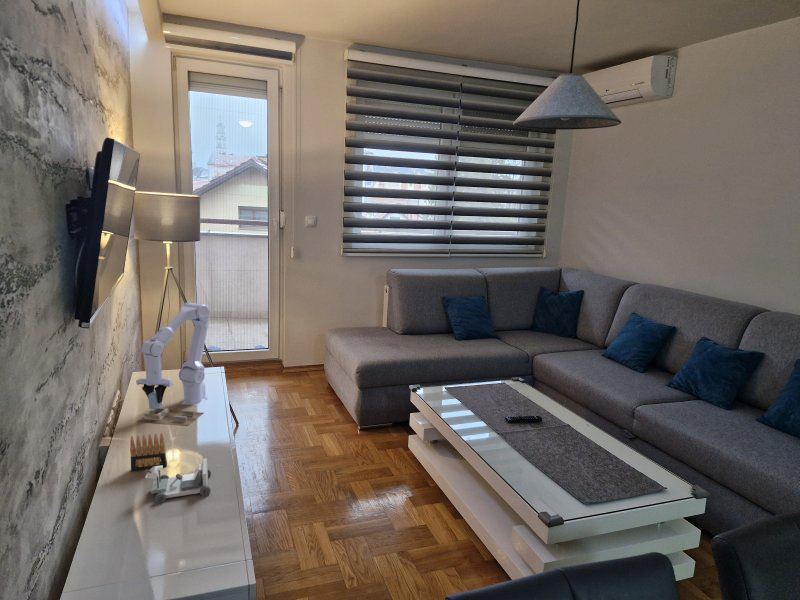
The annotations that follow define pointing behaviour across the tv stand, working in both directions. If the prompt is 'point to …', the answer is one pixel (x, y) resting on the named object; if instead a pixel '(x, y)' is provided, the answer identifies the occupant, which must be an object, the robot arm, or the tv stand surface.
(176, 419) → the brown tray
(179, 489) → the toy car
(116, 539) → the tv stand surface
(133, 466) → the ammunition clip
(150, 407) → the plug
